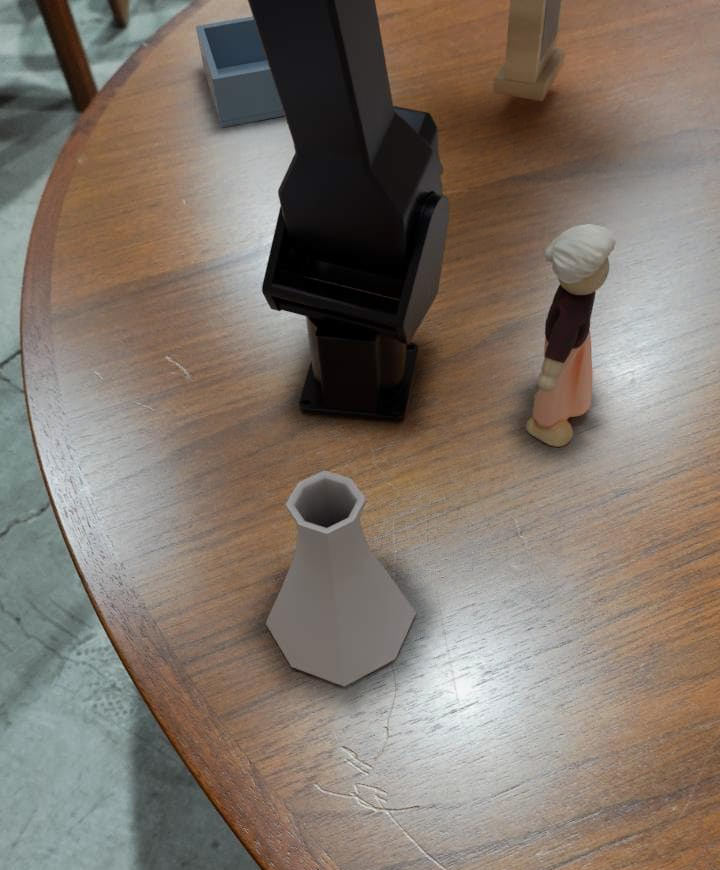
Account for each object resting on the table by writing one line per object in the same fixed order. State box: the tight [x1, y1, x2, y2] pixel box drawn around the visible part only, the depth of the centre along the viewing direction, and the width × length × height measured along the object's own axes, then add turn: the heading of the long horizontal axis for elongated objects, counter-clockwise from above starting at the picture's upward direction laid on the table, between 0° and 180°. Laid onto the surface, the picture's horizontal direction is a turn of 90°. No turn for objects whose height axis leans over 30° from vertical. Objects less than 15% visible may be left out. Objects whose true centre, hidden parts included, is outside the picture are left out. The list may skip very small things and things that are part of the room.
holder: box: [195, 15, 285, 128], centre depth 74 cm, size 9×7×4 cm
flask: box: [265, 469, 417, 687], centre depth 42 cm, size 7×7×10 cm
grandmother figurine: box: [525, 223, 616, 448], centre depth 48 cm, size 8×4×13 cm, turn 171°
